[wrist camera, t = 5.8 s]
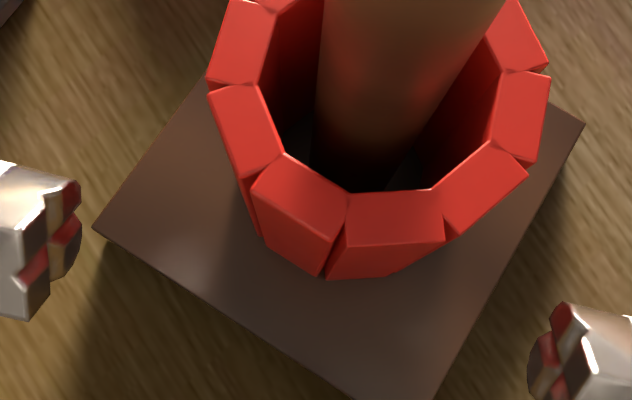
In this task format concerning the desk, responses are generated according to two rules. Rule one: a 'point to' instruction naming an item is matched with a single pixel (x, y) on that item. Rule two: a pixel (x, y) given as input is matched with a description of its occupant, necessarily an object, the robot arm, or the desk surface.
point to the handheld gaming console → (8, 9)
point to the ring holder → (355, 177)
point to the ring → (431, 145)
